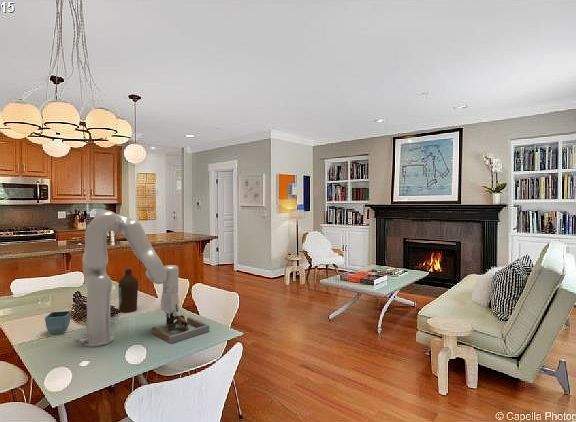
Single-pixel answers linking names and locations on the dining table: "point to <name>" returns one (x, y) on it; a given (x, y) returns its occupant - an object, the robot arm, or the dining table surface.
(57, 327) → the flower pot
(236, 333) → the dining table surface
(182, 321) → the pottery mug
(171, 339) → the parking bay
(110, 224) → the robot arm
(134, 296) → the olive oil
